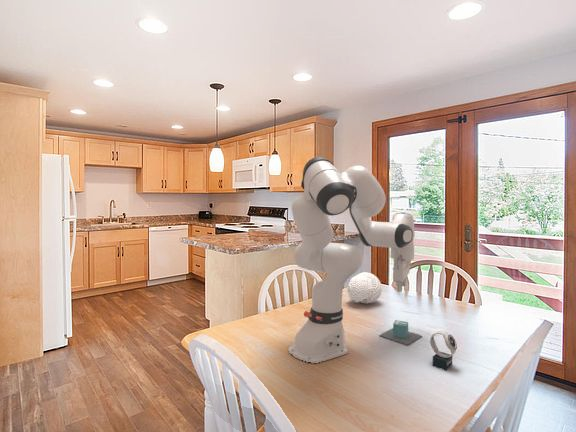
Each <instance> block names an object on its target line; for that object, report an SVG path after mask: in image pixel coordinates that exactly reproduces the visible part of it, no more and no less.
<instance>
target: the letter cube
mask: <svg viewBox="0 0 576 432" xmlns="http://www.w3.org/2000/svg"><path fill="white" fill-rule="evenodd" d="M392 325H393V326H392V328H393V337H399V338H404V339H406V338H407V336H408V331H409V322H408V321H404V320H397V319H396V320H394V322H393V323H392Z"/></svg>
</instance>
